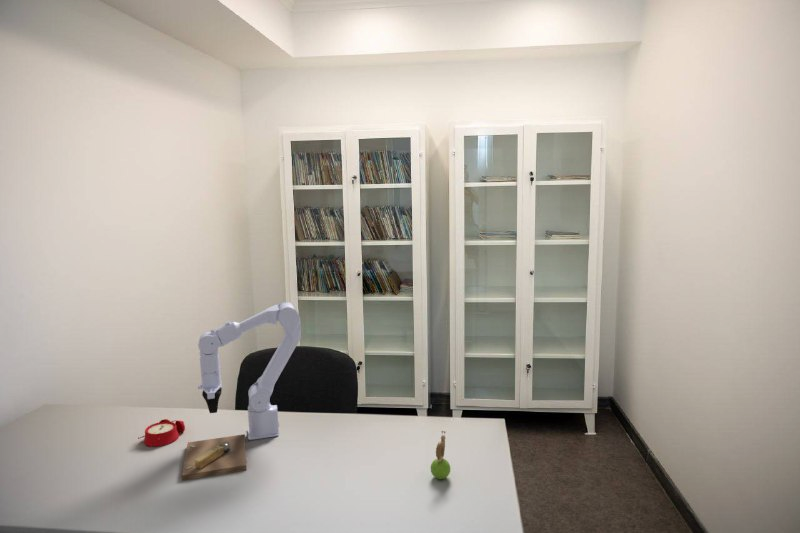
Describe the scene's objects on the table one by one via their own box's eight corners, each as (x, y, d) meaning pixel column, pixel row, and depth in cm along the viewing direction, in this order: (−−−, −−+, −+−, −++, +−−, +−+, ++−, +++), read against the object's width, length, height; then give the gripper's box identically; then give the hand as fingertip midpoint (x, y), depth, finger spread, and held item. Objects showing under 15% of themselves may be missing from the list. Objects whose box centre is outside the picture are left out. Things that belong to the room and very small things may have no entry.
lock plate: (245, 438, 170) (244, 433, 170) (246, 469, 151) (246, 464, 151) (188, 446, 165) (187, 441, 165) (182, 480, 146) (181, 474, 146)
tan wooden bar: (224, 447, 160) (223, 440, 160) (232, 449, 159) (231, 442, 159) (193, 466, 150) (192, 459, 149) (202, 469, 148) (201, 461, 148)
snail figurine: (453, 472, 148) (453, 431, 146) (447, 484, 142) (447, 442, 140) (434, 469, 150) (434, 429, 148) (428, 481, 144) (427, 439, 142)
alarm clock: (132, 436, 165) (162, 407, 178) (137, 452, 167) (167, 422, 181) (161, 439, 162) (190, 409, 176) (166, 456, 165) (194, 425, 178)
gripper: (198, 365, 171) (201, 404, 173) (195, 380, 158) (198, 423, 160) (221, 362, 173) (224, 402, 175) (220, 377, 160) (223, 420, 162)
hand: (213, 412), depth 168 cm, fingers closed
